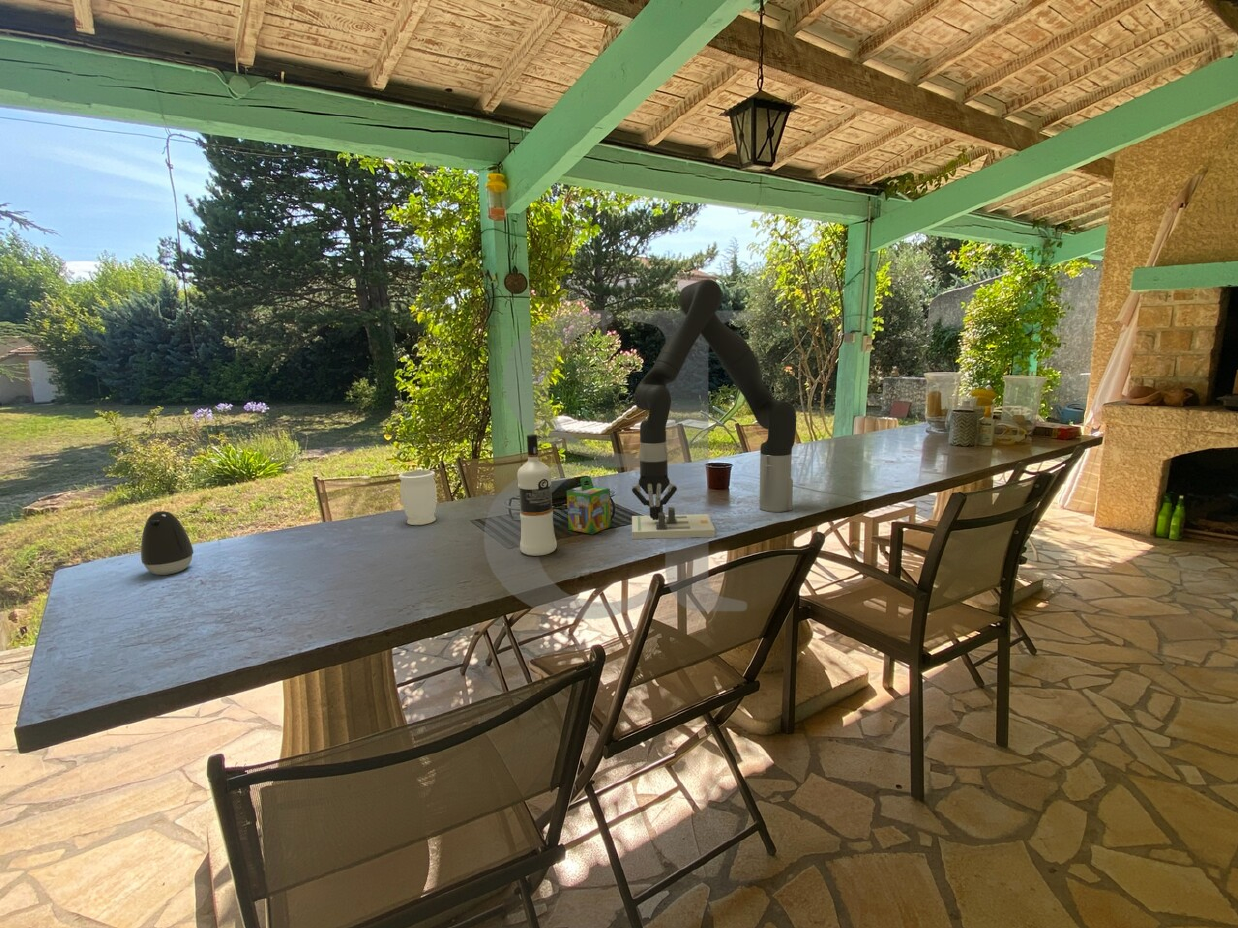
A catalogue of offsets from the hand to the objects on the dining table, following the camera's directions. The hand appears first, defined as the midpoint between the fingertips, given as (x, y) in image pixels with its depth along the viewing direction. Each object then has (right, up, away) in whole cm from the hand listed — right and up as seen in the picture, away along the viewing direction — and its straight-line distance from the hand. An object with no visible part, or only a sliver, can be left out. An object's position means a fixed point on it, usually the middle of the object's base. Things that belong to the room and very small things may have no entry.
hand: (654, 519), depth 169 cm
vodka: (-31, -7, -13) cm, 34 cm away
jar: (-70, -2, +16) cm, 72 cm away
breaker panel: (+5, -3, 0) cm, 6 cm away
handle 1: (+2, 0, +5) cm, 5 cm away
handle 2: (+2, -2, -5) cm, 5 cm away
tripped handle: (+5, -1, 0) cm, 5 cm away
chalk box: (-18, -3, +4) cm, 19 cm away
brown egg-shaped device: (-120, -11, -20) cm, 122 cm away
